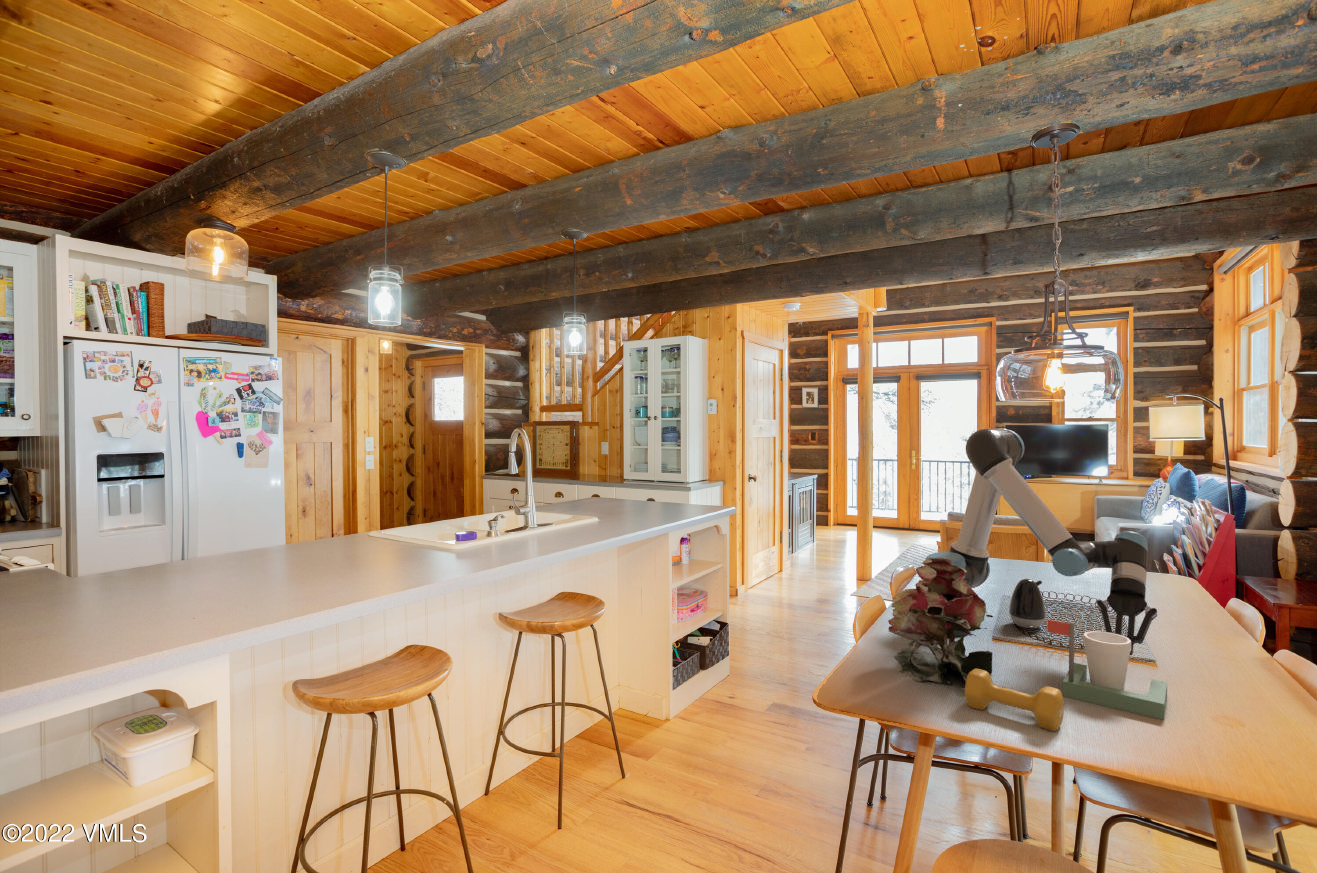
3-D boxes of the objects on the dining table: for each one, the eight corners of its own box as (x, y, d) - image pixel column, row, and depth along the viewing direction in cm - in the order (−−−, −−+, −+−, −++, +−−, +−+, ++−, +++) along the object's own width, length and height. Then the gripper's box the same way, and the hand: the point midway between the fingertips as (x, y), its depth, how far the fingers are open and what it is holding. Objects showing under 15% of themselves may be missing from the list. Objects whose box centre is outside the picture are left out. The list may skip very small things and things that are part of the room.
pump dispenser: (1054, 629, 200) (1054, 581, 199) (1026, 632, 197) (1026, 583, 197) (1028, 619, 209) (1028, 574, 209) (1001, 622, 207) (1002, 576, 207)
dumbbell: (960, 709, 145) (961, 673, 145) (974, 697, 151) (974, 663, 151) (1056, 738, 131) (1056, 699, 131) (1067, 723, 138) (1067, 686, 138)
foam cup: (1130, 687, 155) (1129, 635, 155) (1132, 702, 148) (1132, 646, 147) (1083, 679, 161) (1083, 628, 160) (1083, 693, 153) (1083, 639, 153)
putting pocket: (1056, 672, 166) (1057, 606, 165) (1167, 696, 151) (1168, 623, 150) (1045, 691, 154) (1046, 620, 153) (1164, 719, 139) (1165, 641, 139)
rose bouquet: (989, 657, 176) (990, 550, 175) (997, 699, 149) (999, 573, 149) (891, 644, 187) (891, 543, 186) (883, 681, 160) (883, 563, 159)
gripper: (1159, 595, 167) (1156, 678, 154) (1099, 587, 175) (1091, 665, 163) (1158, 579, 163) (1155, 663, 150) (1097, 572, 171) (1089, 651, 159)
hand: (1122, 664), depth 157 cm, fingers closed
